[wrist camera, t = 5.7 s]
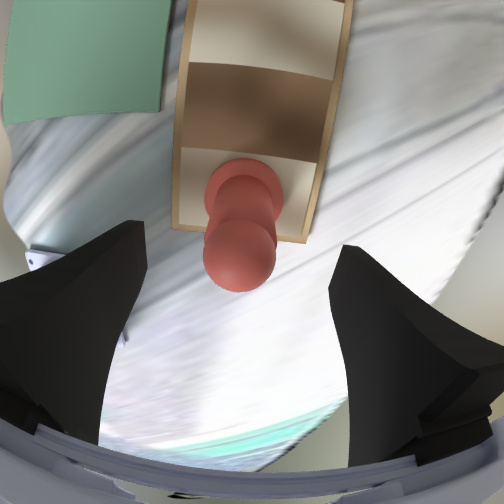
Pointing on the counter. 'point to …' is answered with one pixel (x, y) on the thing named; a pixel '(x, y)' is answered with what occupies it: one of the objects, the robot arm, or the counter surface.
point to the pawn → (241, 224)
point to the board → (258, 100)
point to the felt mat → (84, 57)
